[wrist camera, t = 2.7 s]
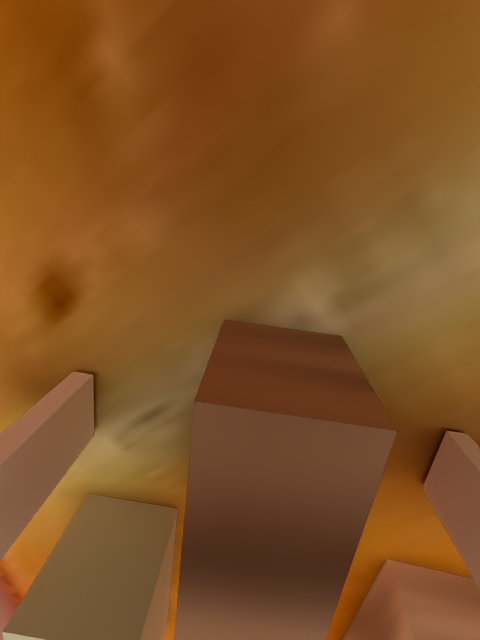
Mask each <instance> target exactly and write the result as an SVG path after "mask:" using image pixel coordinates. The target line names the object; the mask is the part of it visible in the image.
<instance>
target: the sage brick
mask: <svg viewBox="0 0 480 640" xmlns="http://www.w3.org/2000/svg"><path fill="white" fill-rule="evenodd" d="M177 512H178V508H172V507H166V506H160V505H154V504H148V503H142V502H136V501H130V500H124V499H118V498H112V497H106V496H100V495H94V494H87V495H86V497H85V499H84V500H83V502H82V503H81V505H80V507H79V508H78V510H77V512H76V513H75V515H74V516H73V518H72V520H71V521H70V523H69V525H68V526H67V528H66V529H65V531H64V533H63V534H62V536H61V538H60V539H59V541H58V542H57V544H56V546H55V547H54V549H53V551H52V552H51V554H50V555H49V557H48V559H47V560H46V562H45V564H44V565H43V567H42V568H41V570H40V572H39V573H38V575H37V577H36V578H35V580H34V581H33V583H32V585H31V586H30V588H29V590H28V591H27V593H26V594H25V596H24V598H23V599H22V601H21V603H20V604H19V606H18V607H17V609H16V611H15V612H14V614H13V616H12V617H11V619H10V620H9V622H8V624H7V625H6V627H5V629H4V630H3V637H4V640H163V638H164V634H165V630H166V625H167V619H168V609H169V598H170V587H171V576H172V566H173V555H174V544H175V533H176V522H177Z"/></svg>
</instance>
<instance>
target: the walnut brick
mask: <svg viewBox="0 0 480 640" xmlns="http://www.w3.org/2000/svg"><path fill="white" fill-rule="evenodd" d="M396 434H397V430H396V428H395V426H394V425H393V423H392V421H391V419H390V418H389V416H388V414H387V413H386V411H385V409H384V407H383V406H382V404H381V402H380V401H379V399H378V397H377V396H376V394H375V392H374V390H373V389H372V387H371V385H370V384H369V382H368V380H367V378H366V377H365V375H364V373H363V372H362V370H361V368H360V367H359V365H358V363H357V361H356V360H355V358H354V356H353V355H352V353H351V351H350V349H349V348H348V346H347V344H346V343H345V341H344V339H343V338H342V336H337V335H330V334H323V333H316V332H308V331H301V330H294V329H287V328H279V327H272V326H265V325H258V324H251V323H243V322H236V321H229V320H224V321H223V324H222V327H221V329H220V332H219V335H218V338H217V340H216V343H215V346H214V349H213V351H212V354H211V357H210V360H209V362H208V365H207V368H206V371H205V373H204V376H203V379H202V382H201V384H200V387H199V390H198V393H197V395H196V398H195V401H194V411H193V423H192V435H191V447H190V458H189V470H188V482H187V494H186V506H185V518H184V529H183V541H182V553H181V565H180V577H179V589H178V601H177V612H176V624H175V636H174V640H325V638H326V635H327V632H328V630H329V627H330V624H331V621H332V618H333V615H334V612H335V609H336V607H337V604H338V601H339V598H340V595H341V592H342V589H343V586H344V584H345V581H346V578H347V575H348V572H349V569H350V566H351V563H352V560H353V558H354V555H355V552H356V549H357V546H358V543H359V540H360V537H361V535H362V532H363V529H364V526H365V523H366V520H367V517H368V514H369V512H370V509H371V506H372V503H373V500H374V497H375V494H376V491H377V489H378V486H379V483H380V480H381V477H382V474H383V471H384V468H385V466H386V463H387V460H388V457H389V454H390V451H391V448H392V445H393V443H394V440H395V437H396Z"/></svg>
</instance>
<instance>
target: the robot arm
mask: <svg viewBox="0 0 480 640" xmlns="http://www.w3.org/2000/svg"><path fill="white" fill-rule="evenodd" d="M93 436H94V386H93V375H92V374H86V373H79V372H72V373H71V374H70V375H69V376H67V377H66V378H65V379H64V380H63V381H62V382H60V383H59V384H58V385H57V386H56V387H55V388H53V389H52V390H51V391H50V392H49V393H48V394H46V395H45V396H44V397H43V398H42V399H41V400H39V401H38V402H37V403H36V404H35V405H34V406H32V407H31V408H30V409H29V410H28V411H27V412H25V413H24V414H23V415H22V416H21V417H20V418H18V419H17V420H16V421H15V422H14V423H13V424H11V425H10V426H9V427H8V428H7V429H6V430H4V431H3V432H2V433H1V434H0V561H1V559H2V558H3V556H4V555H5V554H6V552H7V551H8V550H9V548H10V547H11V546H12V544H13V543H14V542H15V540H16V539H17V538H18V536H19V535H20V534H21V532H22V531H23V530H24V528H25V527H26V526H27V524H28V523H29V522H30V520H31V519H32V518H33V516H34V515H35V514H36V512H37V511H38V510H39V508H40V507H41V506H42V504H43V503H44V502H45V500H46V499H47V498H48V496H49V495H50V494H51V492H52V491H53V490H54V488H55V487H56V486H57V484H58V483H59V482H60V480H61V479H62V478H63V476H64V475H65V474H66V472H67V471H68V470H69V468H70V467H71V466H72V464H73V463H74V461H75V460H76V459H77V457H78V456H79V455H80V453H81V452H82V451H83V449H84V448H85V447H86V445H87V444H88V443H89V441H90V440H91V439H92V437H93ZM422 489H423V491H424V492H425V494H426V496H427V498H428V499H429V501H430V503H431V505H432V506H433V508H434V510H435V512H436V513H437V515H438V517H439V519H440V521H441V522H442V524H443V526H444V528H445V529H446V531H447V533H448V535H449V536H450V538H451V540H452V542H453V543H454V545H455V547H456V549H457V550H458V552H459V554H460V556H461V558H462V559H463V561H464V563H465V565H466V566H467V568H468V570H469V572H470V573H471V575H472V577H473V579H474V580H475V582H476V584H477V586H478V588H479V589H480V447H479V446H478V445H477V444H476V443H475V442H474V440H473V439H472V438H471V437H470V436H469V435H468V434H465V433H458V432H452V431H446V433H445V436H444V438H443V440H442V443H441V445H440V447H439V450H438V452H437V454H436V457H435V459H434V461H433V464H432V466H431V468H430V471H429V473H428V476H427V478H426V480H425V483H424V485H423V487H422Z"/></svg>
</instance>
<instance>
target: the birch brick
mask: <svg viewBox="0 0 480 640" xmlns="http://www.w3.org/2000/svg"><path fill="white" fill-rule="evenodd" d="M342 640H480V589H479V588H478V586H477V584H476V582H475V580H474V579H472V578H468V577H464V576H459V575H455V574H451V573H446V572H442V571H438V570H433V569H429V568H425V567H420V566H416V565H412V564H407V563H403V562H399V561H394V560H390V559H387V560H386V562H385V563H384V565H383V567H382V569H381V571H380V572H379V574H378V576H377V578H376V580H375V581H374V583H373V585H372V587H371V589H370V590H369V592H368V594H367V596H366V598H365V599H364V601H363V603H362V605H361V607H360V608H359V610H358V612H357V614H356V616H355V617H354V619H353V621H352V623H351V625H350V626H349V628H348V630H347V632H346V634H345V635H344V637H343V639H342Z"/></svg>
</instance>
